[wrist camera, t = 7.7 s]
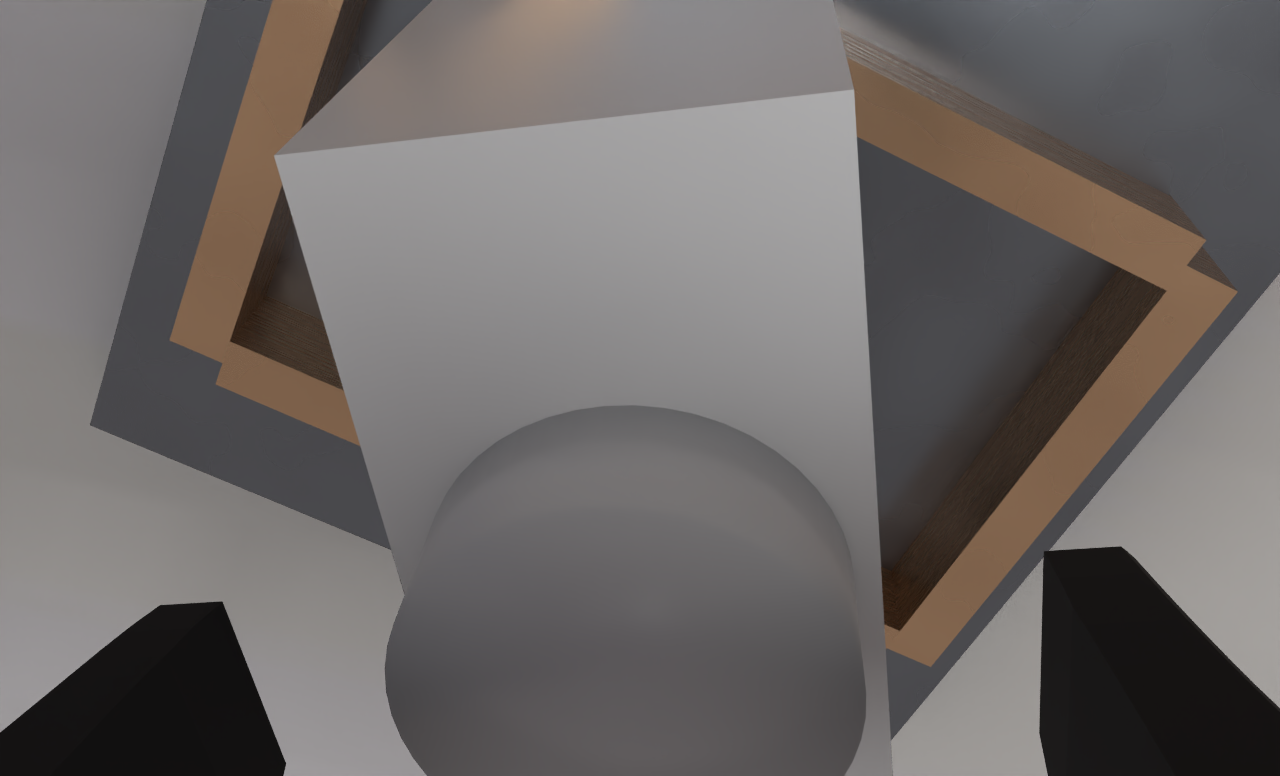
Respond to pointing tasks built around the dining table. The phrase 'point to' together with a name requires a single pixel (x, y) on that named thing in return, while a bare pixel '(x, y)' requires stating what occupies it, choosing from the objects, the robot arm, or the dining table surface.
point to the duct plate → (893, 266)
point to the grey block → (611, 383)
